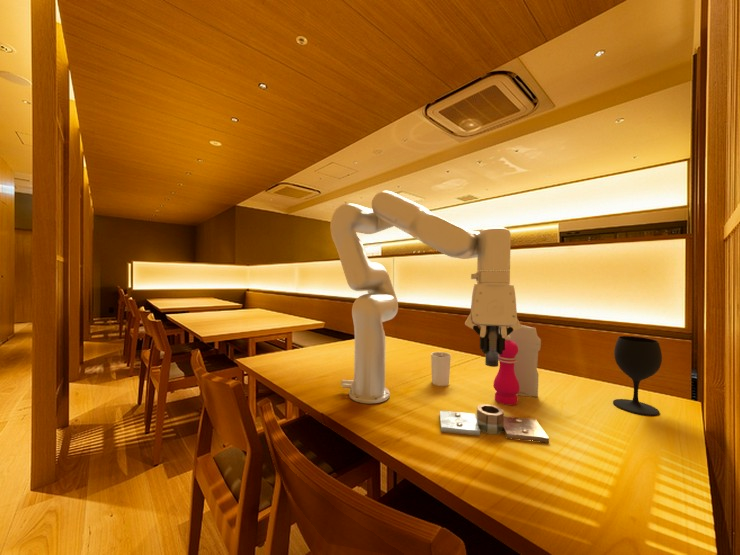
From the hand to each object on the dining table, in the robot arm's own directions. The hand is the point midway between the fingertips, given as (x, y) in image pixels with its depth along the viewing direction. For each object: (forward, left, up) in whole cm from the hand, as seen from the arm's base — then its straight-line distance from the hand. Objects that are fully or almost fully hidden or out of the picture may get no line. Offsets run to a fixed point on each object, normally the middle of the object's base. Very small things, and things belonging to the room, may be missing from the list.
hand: (492, 352), depth 77 cm
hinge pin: (0, 0, -3) cm, 3 cm away
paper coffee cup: (-11, +29, -19) cm, 36 cm away
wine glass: (+44, +21, -19) cm, 52 cm away
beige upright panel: (+14, +25, -19) cm, 35 cm away
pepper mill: (+8, +18, -19) cm, 28 cm away
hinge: (0, 0, -19) cm, 19 cm away
